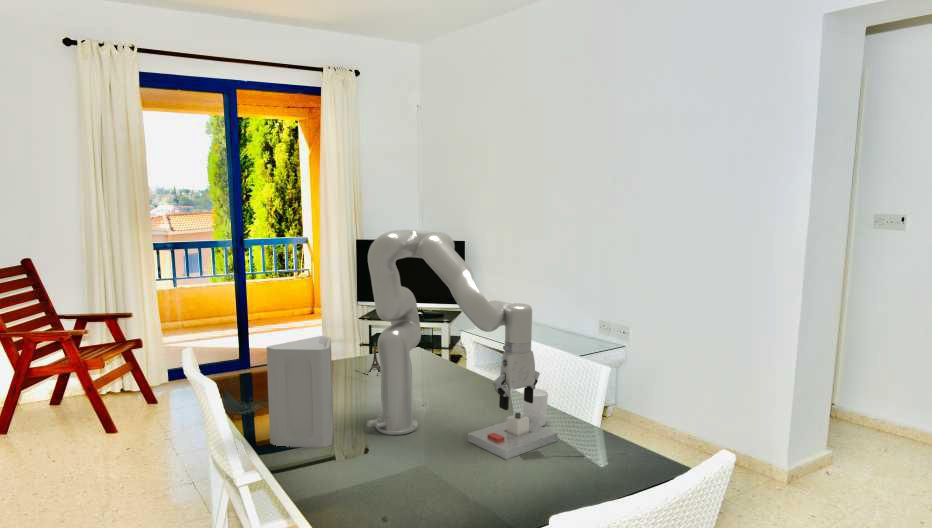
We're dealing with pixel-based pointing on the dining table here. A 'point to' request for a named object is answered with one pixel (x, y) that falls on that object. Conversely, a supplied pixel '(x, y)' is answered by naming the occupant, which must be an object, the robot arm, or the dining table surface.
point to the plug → (517, 425)
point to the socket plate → (511, 439)
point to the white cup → (536, 407)
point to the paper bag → (300, 393)
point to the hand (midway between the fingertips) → (516, 405)
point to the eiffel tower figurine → (375, 360)
